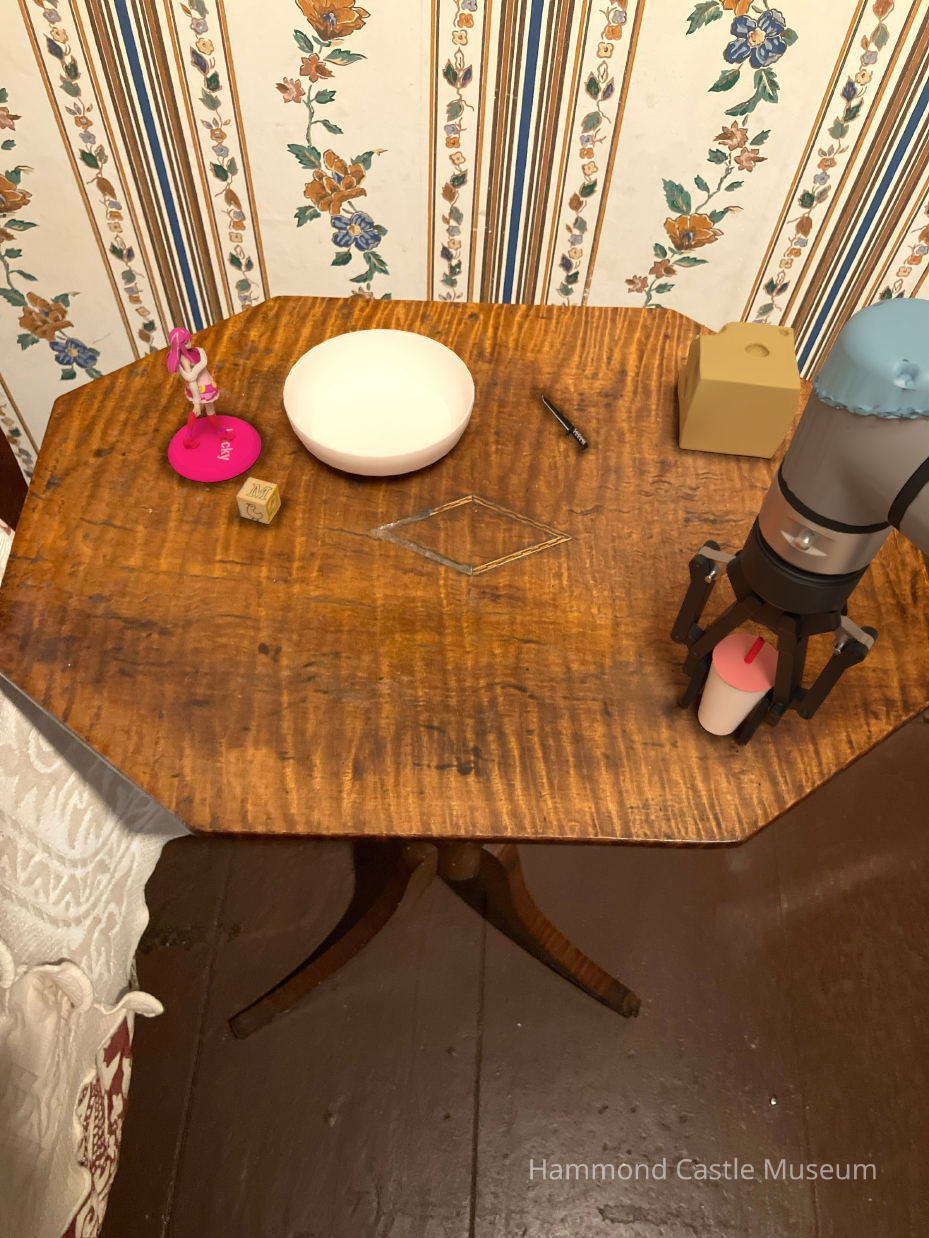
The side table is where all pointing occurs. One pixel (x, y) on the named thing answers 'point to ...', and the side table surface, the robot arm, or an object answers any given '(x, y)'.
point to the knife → (566, 424)
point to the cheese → (739, 390)
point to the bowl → (379, 401)
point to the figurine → (206, 422)
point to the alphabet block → (258, 500)
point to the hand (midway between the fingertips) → (719, 713)
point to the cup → (736, 681)
